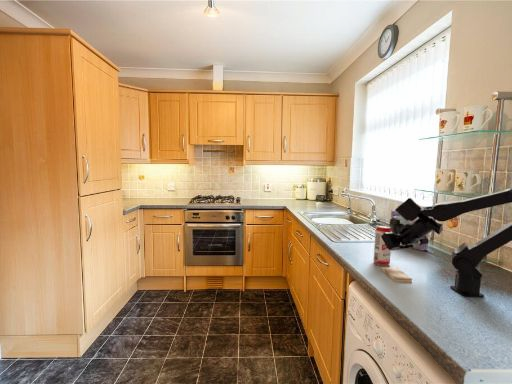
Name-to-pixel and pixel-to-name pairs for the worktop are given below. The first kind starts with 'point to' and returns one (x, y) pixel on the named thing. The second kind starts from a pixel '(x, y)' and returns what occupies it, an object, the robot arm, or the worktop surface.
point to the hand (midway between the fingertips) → (391, 249)
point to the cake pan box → (394, 230)
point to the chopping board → (396, 274)
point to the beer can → (381, 246)
